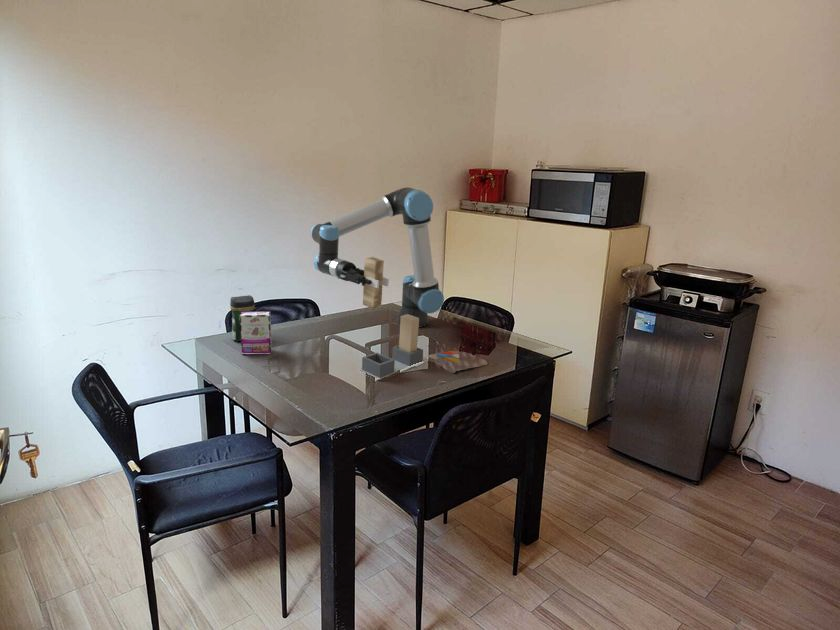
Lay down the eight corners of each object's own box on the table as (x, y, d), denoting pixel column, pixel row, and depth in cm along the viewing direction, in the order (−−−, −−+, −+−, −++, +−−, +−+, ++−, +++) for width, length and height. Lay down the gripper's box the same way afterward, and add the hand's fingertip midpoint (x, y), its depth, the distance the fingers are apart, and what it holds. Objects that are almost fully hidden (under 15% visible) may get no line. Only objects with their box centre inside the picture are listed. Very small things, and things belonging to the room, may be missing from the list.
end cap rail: (405, 355, 225) (408, 311, 219) (424, 363, 219) (427, 318, 213) (359, 372, 207) (361, 324, 201) (378, 381, 201) (380, 332, 195)
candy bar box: (271, 349, 222) (270, 311, 217) (271, 354, 218) (270, 315, 212) (242, 350, 220) (241, 311, 215) (241, 355, 215) (239, 315, 210)
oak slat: (370, 302, 213) (373, 257, 208) (381, 306, 209) (383, 260, 204) (362, 304, 211) (364, 258, 205) (373, 308, 207) (375, 261, 201)
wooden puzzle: (489, 366, 222) (490, 357, 221) (454, 376, 211) (455, 367, 210) (460, 351, 235) (460, 343, 234) (425, 360, 224) (426, 352, 222)
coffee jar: (253, 334, 237) (251, 292, 231) (258, 340, 231) (256, 297, 225) (229, 337, 232) (227, 294, 226) (234, 343, 226) (232, 300, 220)
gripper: (359, 276, 226) (399, 290, 210) (325, 281, 214) (364, 296, 199) (360, 258, 223) (400, 270, 208) (325, 262, 211) (365, 276, 196)
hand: (382, 283), depth 203 cm, fingers closed on oak slat, 4 cm apart
